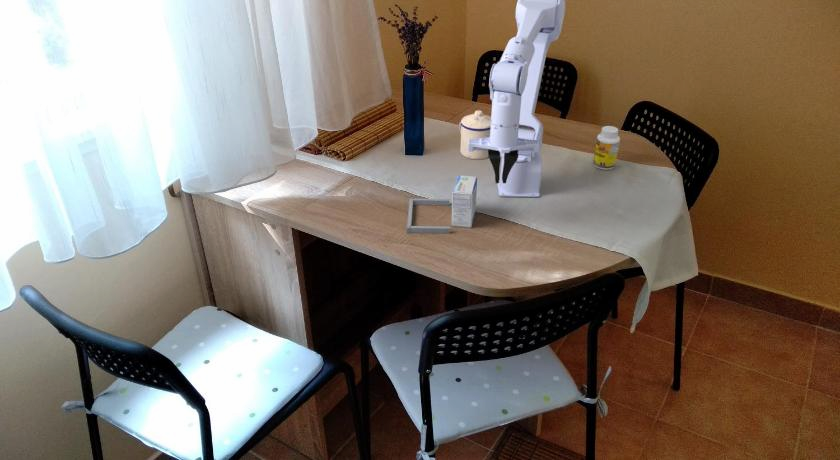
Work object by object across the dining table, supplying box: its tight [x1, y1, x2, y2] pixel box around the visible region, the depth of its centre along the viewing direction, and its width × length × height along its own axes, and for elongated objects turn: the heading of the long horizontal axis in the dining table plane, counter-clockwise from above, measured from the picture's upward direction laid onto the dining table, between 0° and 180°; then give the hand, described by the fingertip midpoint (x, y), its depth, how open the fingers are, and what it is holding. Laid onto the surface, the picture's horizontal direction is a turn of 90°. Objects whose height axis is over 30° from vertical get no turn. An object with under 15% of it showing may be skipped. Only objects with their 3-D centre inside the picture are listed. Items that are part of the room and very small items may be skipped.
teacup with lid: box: [458, 110, 491, 160], centre depth 167 cm, size 12×9×12 cm
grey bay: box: [406, 197, 451, 234], centre depth 141 cm, size 9×13×1 cm
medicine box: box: [451, 175, 478, 228], centre depth 138 cm, size 8×4×9 cm, turn 168°
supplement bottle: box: [592, 125, 621, 171], centre depth 159 cm, size 6×6×10 cm
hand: (500, 181), depth 135 cm, fingers closed
